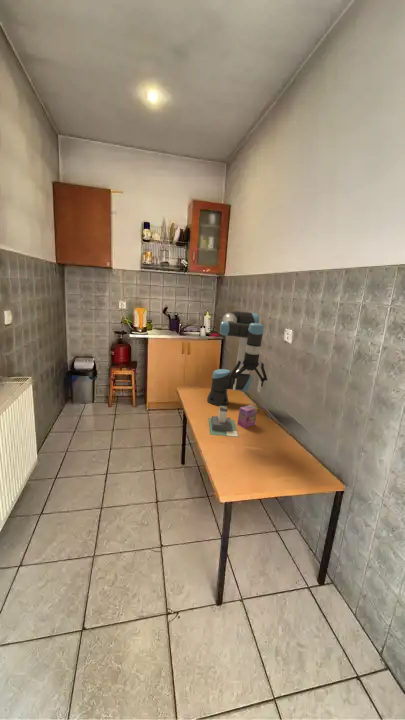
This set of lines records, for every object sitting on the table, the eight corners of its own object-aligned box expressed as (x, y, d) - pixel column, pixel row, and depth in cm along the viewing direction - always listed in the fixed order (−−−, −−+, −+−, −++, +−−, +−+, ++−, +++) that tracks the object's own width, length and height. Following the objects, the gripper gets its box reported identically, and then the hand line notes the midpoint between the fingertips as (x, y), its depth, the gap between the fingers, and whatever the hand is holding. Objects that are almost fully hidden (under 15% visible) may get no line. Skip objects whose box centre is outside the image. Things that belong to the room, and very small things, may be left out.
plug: (217, 424, 175) (219, 405, 172) (224, 425, 175) (226, 406, 172) (217, 427, 171) (220, 408, 168) (224, 428, 171) (227, 409, 168)
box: (243, 429, 175) (246, 410, 172) (236, 425, 179) (239, 407, 176) (255, 425, 182) (258, 407, 179) (248, 421, 186) (250, 404, 183)
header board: (208, 418, 183) (208, 412, 182) (233, 421, 184) (234, 414, 183) (209, 435, 162) (210, 428, 161) (238, 438, 163) (239, 431, 162)
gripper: (229, 352, 152) (224, 391, 157) (277, 357, 154) (270, 395, 159) (227, 349, 159) (222, 386, 164) (273, 353, 161) (266, 390, 166)
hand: (246, 390), depth 162 cm, fingers open, 13 cm apart
